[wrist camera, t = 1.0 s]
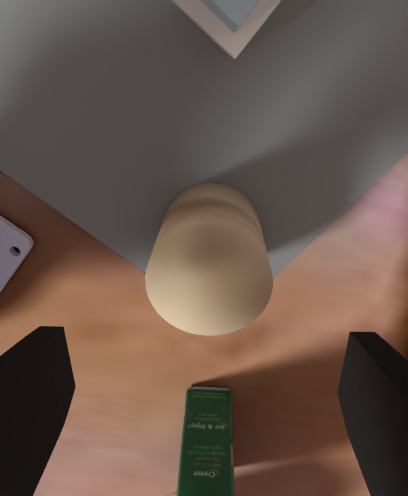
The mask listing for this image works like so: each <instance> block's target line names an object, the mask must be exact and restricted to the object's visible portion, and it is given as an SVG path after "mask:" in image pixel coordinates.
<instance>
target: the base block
mask: <svg viewBox="0 0 408 496" xmlns="http://www.w3.org/2000/svg"><path fill="white" fill-rule="evenodd" d="M172 1H173V2H174V3H175V4H176V5H177V6H178V7H179V8H180V9H181V10H182V11H183V12H184V13H185V14H186V15H188V16H189V17H190V18H191V19H192V20H193V21H194V22H195V23H196V24H197V25H198V26H199V27H200V28H201V29H202V30H203V31H204V32H205V33H206V34H208V35H209V36H210V37H211V38H212V39H213V40H214V41H215V42H216V43H217V44H218V45H219V46H220V47H221V48H222V49H223V50H224V51H225V52H226V53H227V54H229V55H230V56H231V57H232V58H233V59H236V57H237V56H238V55H239V54H240V52H241V51H242V50H243V49H244V47H245V46H246V45H247V43H248V42H249V41H250V40H251V38H252V37H253V36H254V34H255V33H256V32H257V31H258V29H259V28H260V27H261V26H262V24H263V23H264V22H265V20H266V19H267V18H268V17H269V15H270V14H271V13H272V12H273V10H274V9H275V8H276V6H277V5H278V4H279V3H280V1H281V0H259V2H258V3H257V4H256V6H255V7H254V8H253V9H252V11H251V12H250V13H249V15H248V16H247V17H246V19H245V20H244V21H243V23H242V24H241V25H240V27H239V28H238V29H237V31H236V32H235V33H233V32H232V31H231V30H230V29H229V28H228V27H227V26H226V25H225V24H224V23H223V22H222V21H221V20H220V19H219V18H218V17H217V16H216V15H215V14H214V13H213V12H212V11H211V10H210V9H209V8H208V7H207V6H206V5H205V4H204V3H203V2H202V1H201V0H172Z"/></svg>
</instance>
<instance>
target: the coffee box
mask: <svg viewBox="0 0 408 496" xmlns="http://www.w3.org/2000/svg"><path fill="white" fill-rule="evenodd" d="M177 496H235V495H234V467H233V434H232V394H231V390H230V389H228V388H218V387H203V386H200V387H199V386H195V387H193V388H188V389H187V393H186V404H185V416H184V425H183V433H182V444H181V455H180V465H179V476H178V487H177Z"/></svg>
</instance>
